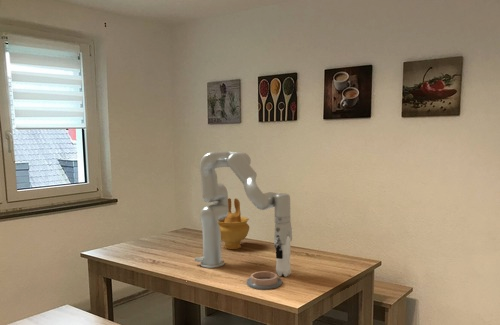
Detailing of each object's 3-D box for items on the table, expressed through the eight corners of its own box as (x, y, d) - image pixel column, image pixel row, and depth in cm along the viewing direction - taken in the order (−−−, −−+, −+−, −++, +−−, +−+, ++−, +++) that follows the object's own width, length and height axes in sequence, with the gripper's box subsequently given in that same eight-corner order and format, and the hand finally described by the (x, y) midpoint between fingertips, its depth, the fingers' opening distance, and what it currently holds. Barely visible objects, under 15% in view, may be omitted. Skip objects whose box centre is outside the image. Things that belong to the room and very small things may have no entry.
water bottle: (275, 273, 195) (274, 222, 194) (289, 272, 195) (288, 221, 194) (277, 278, 188) (276, 225, 186) (292, 277, 188) (291, 224, 187)
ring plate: (249, 290, 172) (249, 282, 172) (244, 278, 188) (244, 271, 188) (285, 288, 174) (285, 280, 174) (277, 276, 190) (277, 269, 190)
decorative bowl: (211, 250, 238) (209, 200, 237) (221, 241, 259) (220, 196, 257) (245, 252, 234) (244, 201, 232) (253, 243, 254) (252, 196, 253)
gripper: (281, 223, 181) (281, 262, 182) (297, 217, 196) (298, 252, 196) (266, 222, 185) (267, 259, 186) (283, 215, 200) (284, 250, 200)
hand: (283, 255), depth 191 cm, fingers closed on water bottle, 7 cm apart
